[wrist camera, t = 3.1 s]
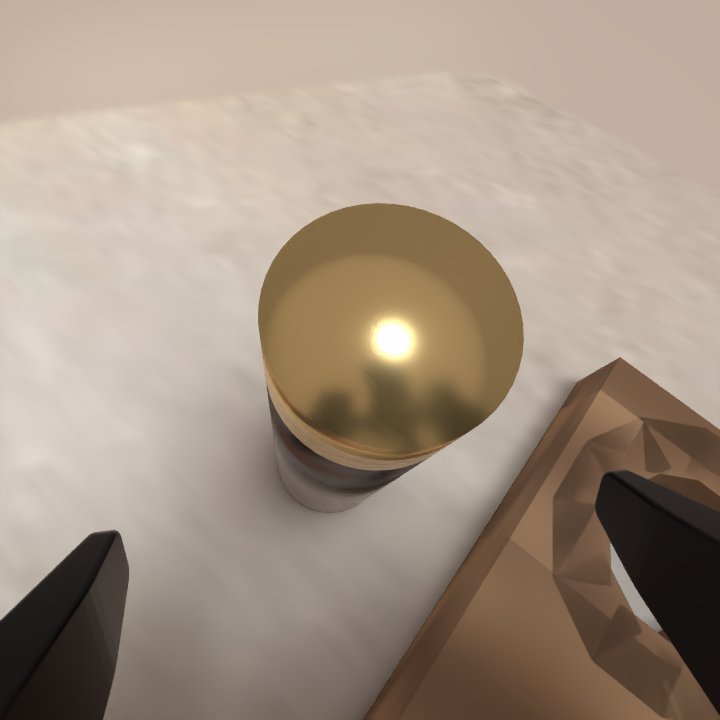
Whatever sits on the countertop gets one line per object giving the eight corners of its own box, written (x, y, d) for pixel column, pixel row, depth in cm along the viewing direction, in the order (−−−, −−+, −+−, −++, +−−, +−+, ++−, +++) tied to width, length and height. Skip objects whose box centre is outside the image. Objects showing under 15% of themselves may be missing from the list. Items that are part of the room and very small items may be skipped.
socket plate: (592, 1114, 14) (668, 1255, 11) (293, 830, 16) (294, 893, 13) (800, 546, 21) (881, 546, 18) (578, 381, 22) (621, 356, 19)
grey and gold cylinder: (337, 535, 19) (425, 511, 7) (255, 466, 19) (198, 326, 7) (400, 451, 20) (569, 305, 8) (322, 388, 21) (370, 162, 8)
